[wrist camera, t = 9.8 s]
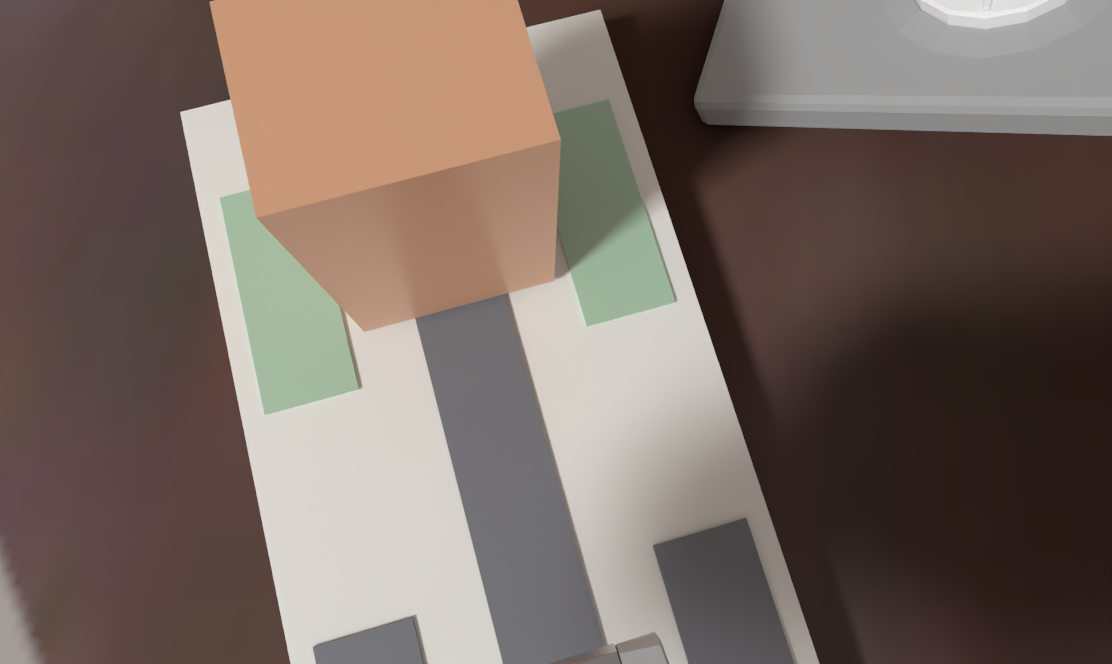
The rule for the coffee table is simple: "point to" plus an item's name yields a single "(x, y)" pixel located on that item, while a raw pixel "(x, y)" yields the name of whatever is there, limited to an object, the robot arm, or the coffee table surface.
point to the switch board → (503, 429)
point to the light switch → (912, 65)
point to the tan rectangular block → (396, 147)
